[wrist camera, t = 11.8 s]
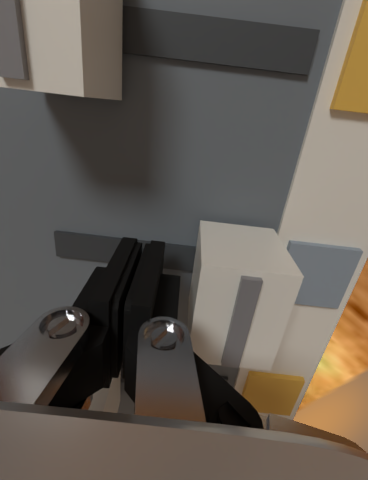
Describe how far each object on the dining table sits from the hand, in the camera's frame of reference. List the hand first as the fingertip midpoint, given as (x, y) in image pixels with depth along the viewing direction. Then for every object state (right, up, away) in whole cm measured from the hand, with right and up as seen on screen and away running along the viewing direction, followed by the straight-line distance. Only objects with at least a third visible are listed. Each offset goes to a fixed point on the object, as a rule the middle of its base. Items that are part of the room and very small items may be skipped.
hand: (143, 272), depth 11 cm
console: (+1, +2, +5) cm, 6 cm away
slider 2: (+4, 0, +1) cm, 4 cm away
